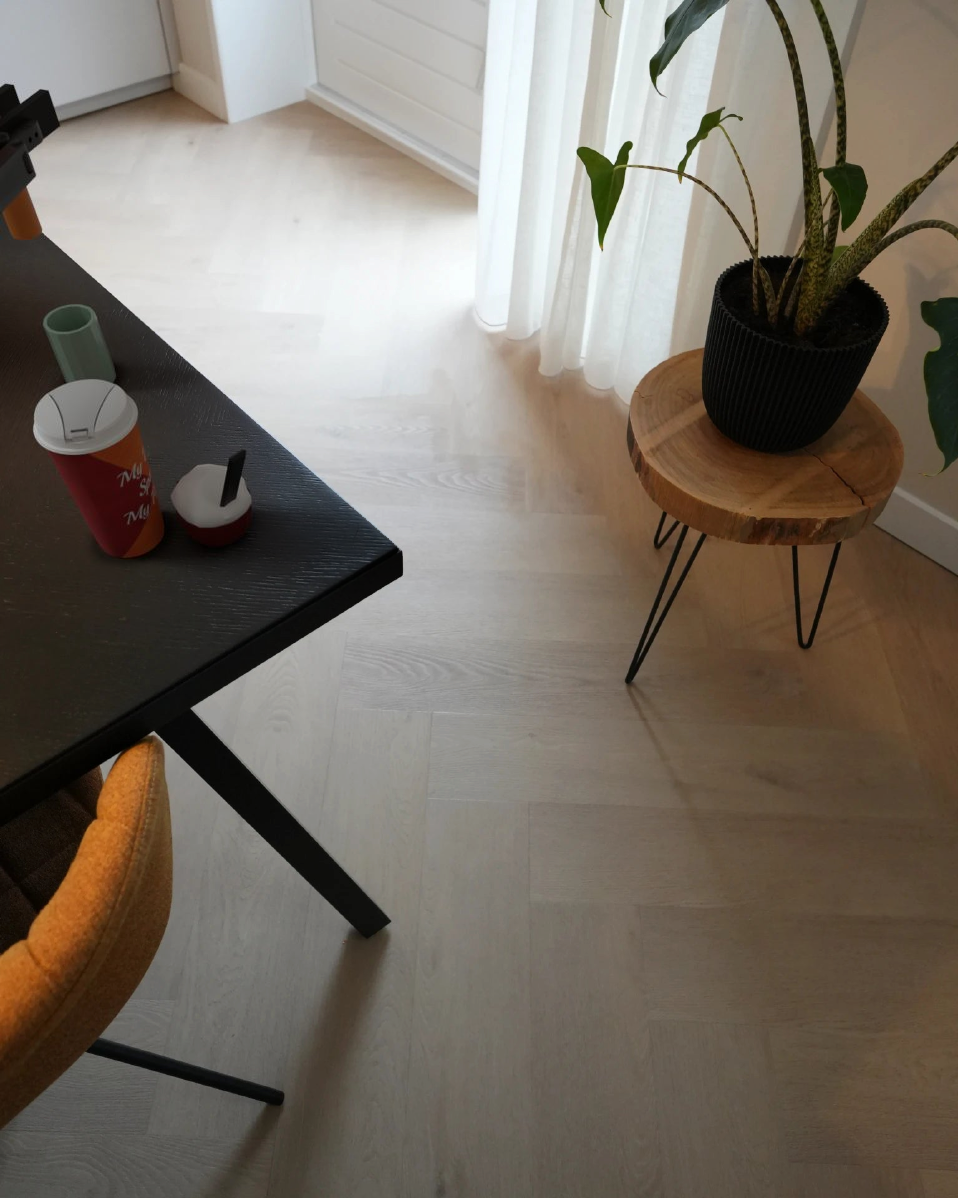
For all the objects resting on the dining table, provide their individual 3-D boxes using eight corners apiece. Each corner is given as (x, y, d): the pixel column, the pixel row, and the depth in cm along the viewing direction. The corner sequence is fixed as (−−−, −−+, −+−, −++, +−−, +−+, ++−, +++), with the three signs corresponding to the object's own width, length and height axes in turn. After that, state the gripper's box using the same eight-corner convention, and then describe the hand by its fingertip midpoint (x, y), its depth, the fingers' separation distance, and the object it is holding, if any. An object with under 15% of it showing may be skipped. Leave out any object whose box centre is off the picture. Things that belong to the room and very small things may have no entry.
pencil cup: (58, 390, 95) (33, 330, 90) (81, 360, 98) (58, 301, 93) (102, 397, 95) (80, 337, 89) (124, 367, 98) (103, 307, 92)
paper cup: (178, 559, 81) (132, 432, 71) (84, 574, 80) (23, 447, 69) (176, 495, 86) (133, 367, 75) (87, 508, 85) (31, 380, 74)
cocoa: (172, 511, 85) (135, 404, 76) (240, 488, 87) (212, 380, 77) (206, 584, 80) (170, 479, 70) (277, 558, 82) (252, 452, 72)
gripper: (-246, 295, 66) (-33, 137, 80) (-52, 338, 63) (134, 166, 77) (-316, 189, 60) (-72, 39, 74) (-106, 231, 57) (106, 67, 71)
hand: (32, 104), depth 75 cm, fingers closed on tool, 2 cm apart
